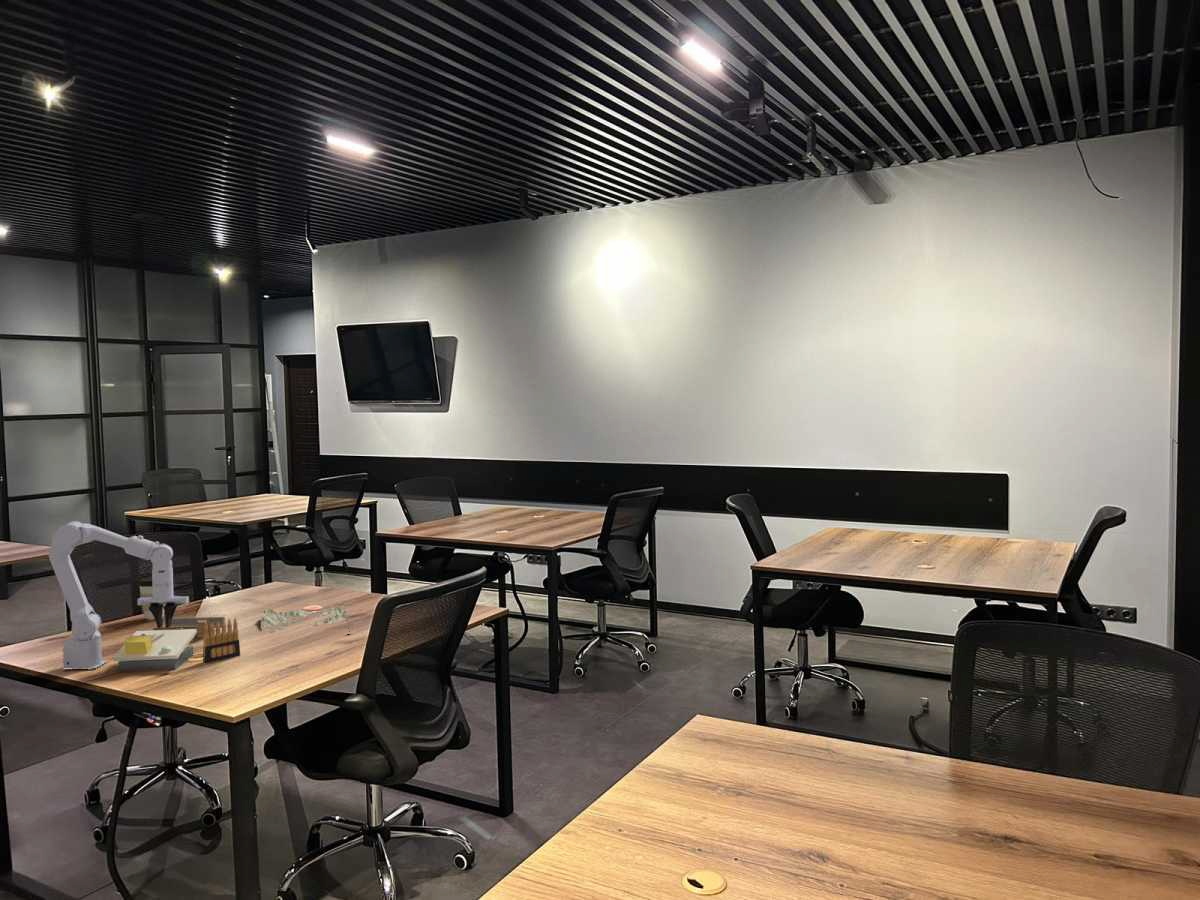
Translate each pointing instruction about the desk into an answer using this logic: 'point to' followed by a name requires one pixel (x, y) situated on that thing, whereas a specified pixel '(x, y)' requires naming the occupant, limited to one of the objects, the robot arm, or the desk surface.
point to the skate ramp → (193, 624)
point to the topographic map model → (274, 618)
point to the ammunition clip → (221, 642)
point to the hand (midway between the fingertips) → (164, 626)
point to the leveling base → (156, 663)
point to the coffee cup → (147, 591)
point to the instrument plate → (155, 645)
